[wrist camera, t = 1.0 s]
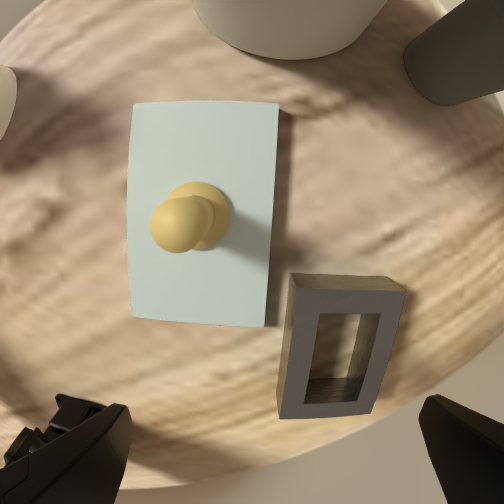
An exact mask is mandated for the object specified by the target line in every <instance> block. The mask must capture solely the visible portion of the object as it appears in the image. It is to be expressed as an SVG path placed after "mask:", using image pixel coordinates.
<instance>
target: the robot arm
mask: <svg viewBox="0 0 504 504" xmlns="http://www.w3.org/2000/svg"><path fill="white" fill-rule="evenodd" d="M55 399H56V402H57V405H58V407H59V410H58V411H57V413H56V414H55V415H54V417H53V418H52V419H51V421H50V422H49V427H48V428H47V429H46V431H45V432H44V434H43V433H42V432H41V430H40V429H39V428H37V427H36V428H35V429H34V430H32V429H29V428H27V427H24V429H23V430H22V431H21V433H20V434H19V435H18V436H17V438H16V439H15V440H14V442H13V443H12V444H11V446H10V447H9V449H8V450H7V452H6V453H5V454H4V459H5V466H4V468H1V469H0V504H114V502H115V499H116V496H117V493H118V490H119V487H120V484H121V481H122V478H123V475H124V472H125V468H126V463H127V458H128V453H129V449H130V444H131V439H132V435H133V422H132V419H131V416H130V412H129V409H128V407H127V406H126V405H122V404H117V403H114V404H111V405H110V406H108V407H104V406H100V405H96V404H92V403H88V402H85V401H81V400H78V399H74V398H71V397H68V396H64V395H61V394H57V395H56V396H55ZM419 424H420V427H421V430H422V434H423V437H424V440H425V443H426V447H427V450H428V454H429V457H430V459H431V462H432V464H433V467H434V469H435V471H436V474H437V477H438V479H439V482H440V484H441V487H442V490H443V492H444V495H445V497H446V500H447V503H448V504H504V424H502V423H500V422H497V421H495V420H493V419H491V418H489V417H486V416H484V415H482V414H480V413H477V412H475V411H473V410H471V409H469V408H467V407H464V406H462V405H460V404H458V403H456V402H454V401H452V400H450V399H448V398H445V397H444V396H441V395H439V394H436V395H432V396H429V397H427V398H426V400H425V402H424V405H423V407H422V409H421V412H420V414H419ZM31 452H32V453H31Z"/></svg>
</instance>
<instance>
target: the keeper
mask: <svg viewBox="0 0 504 504" xmlns="http://www.w3.org/2000/svg"><path fill="white" fill-rule="evenodd" d="M278 112H279V104H276V103H263V102H245V101H168V102H150V103H137V104H134V105H133V113H132V123H131V133H130V145H129V160H128V179H127V260H128V280H129V294H130V307H131V317H139V318H148V319H157V320H166V321H176V322H187V323H199V324H212V325H227V326H244V327H264V321H265V308H266V296H267V283H268V270H269V257H270V243H271V228H272V214H273V199H274V183H275V166H276V149H277V131H278Z"/></svg>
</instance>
